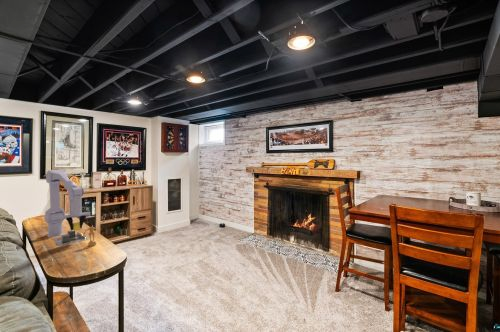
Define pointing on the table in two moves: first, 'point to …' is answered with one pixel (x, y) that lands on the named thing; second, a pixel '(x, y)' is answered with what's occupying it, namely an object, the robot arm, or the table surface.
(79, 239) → the panel
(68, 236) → the block
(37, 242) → the table surface
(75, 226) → the cap
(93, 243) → the figurine
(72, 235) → the breaker
